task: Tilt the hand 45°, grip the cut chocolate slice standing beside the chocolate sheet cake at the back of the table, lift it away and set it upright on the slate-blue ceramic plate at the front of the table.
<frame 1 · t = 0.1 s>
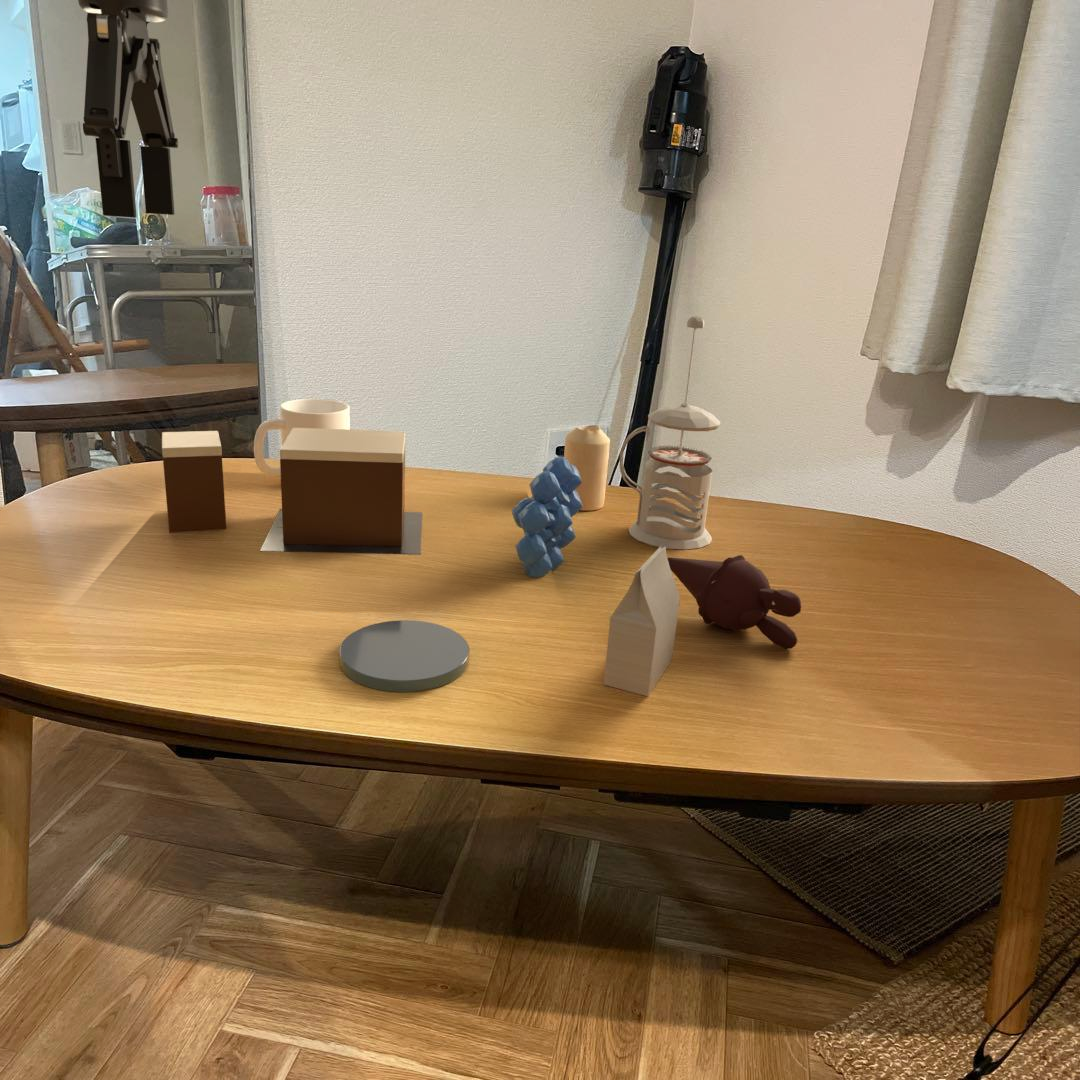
hand: (141, 215, 89), 32 cm above the table, tool pointing down, fingers open, 13 cm apart
grapes: (538, 572, 92), on the table
cake slice: (197, 529, 97), on the table
icecream: (723, 626, 83), on the table
french press: (662, 534, 105), on the table
beige milk carton: (638, 674, 73), on the table
plate: (405, 659, 73), on the table
cup: (303, 487, 113), on the table
candle: (582, 505, 114), on the table
cake board: (347, 538, 97), on the table
cake: (346, 530, 97), resting on cake board
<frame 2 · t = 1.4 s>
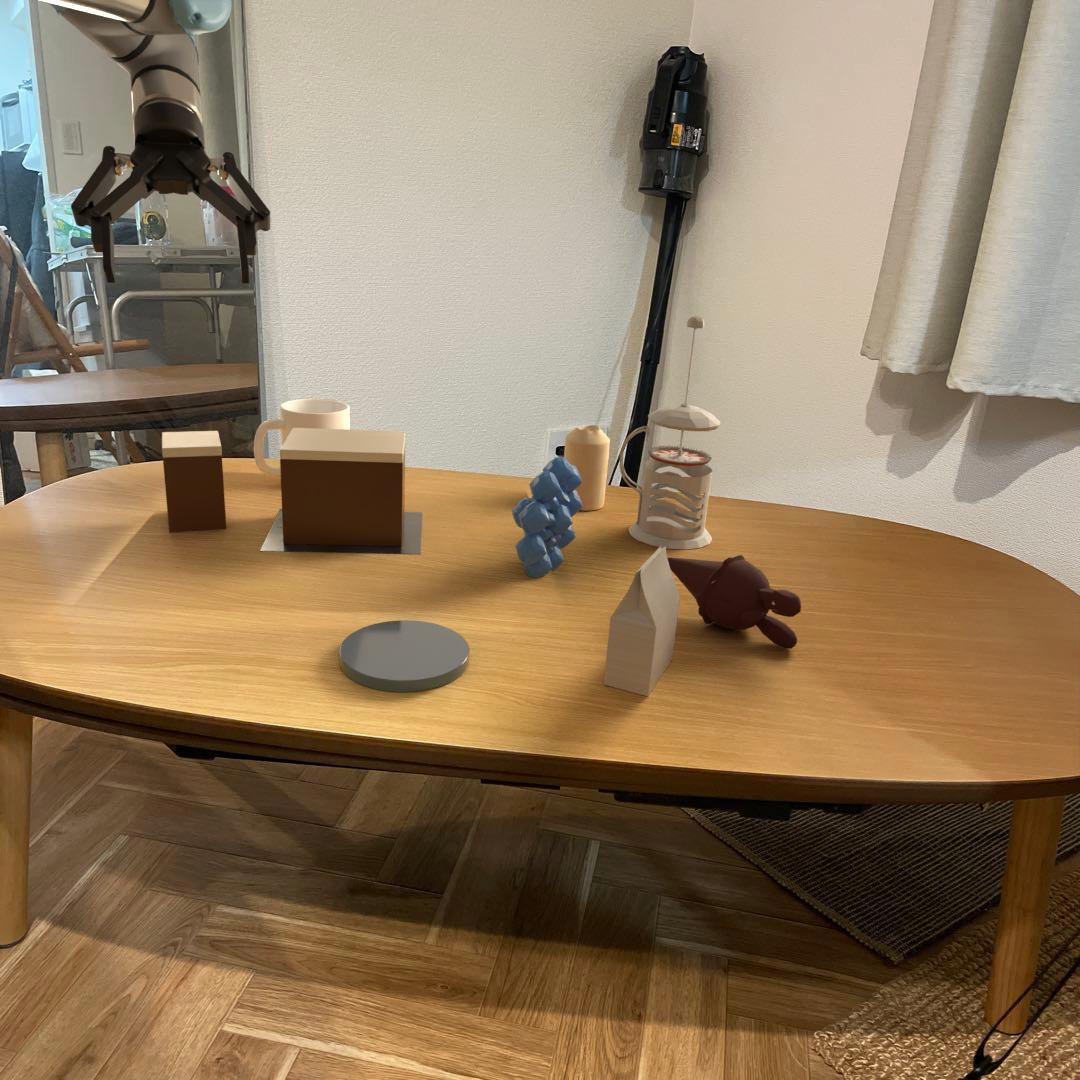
hand: (178, 275, 96), 26 cm above the table, tool tilted 45°, fingers open, 13 cm apart
nothing on the table moved.
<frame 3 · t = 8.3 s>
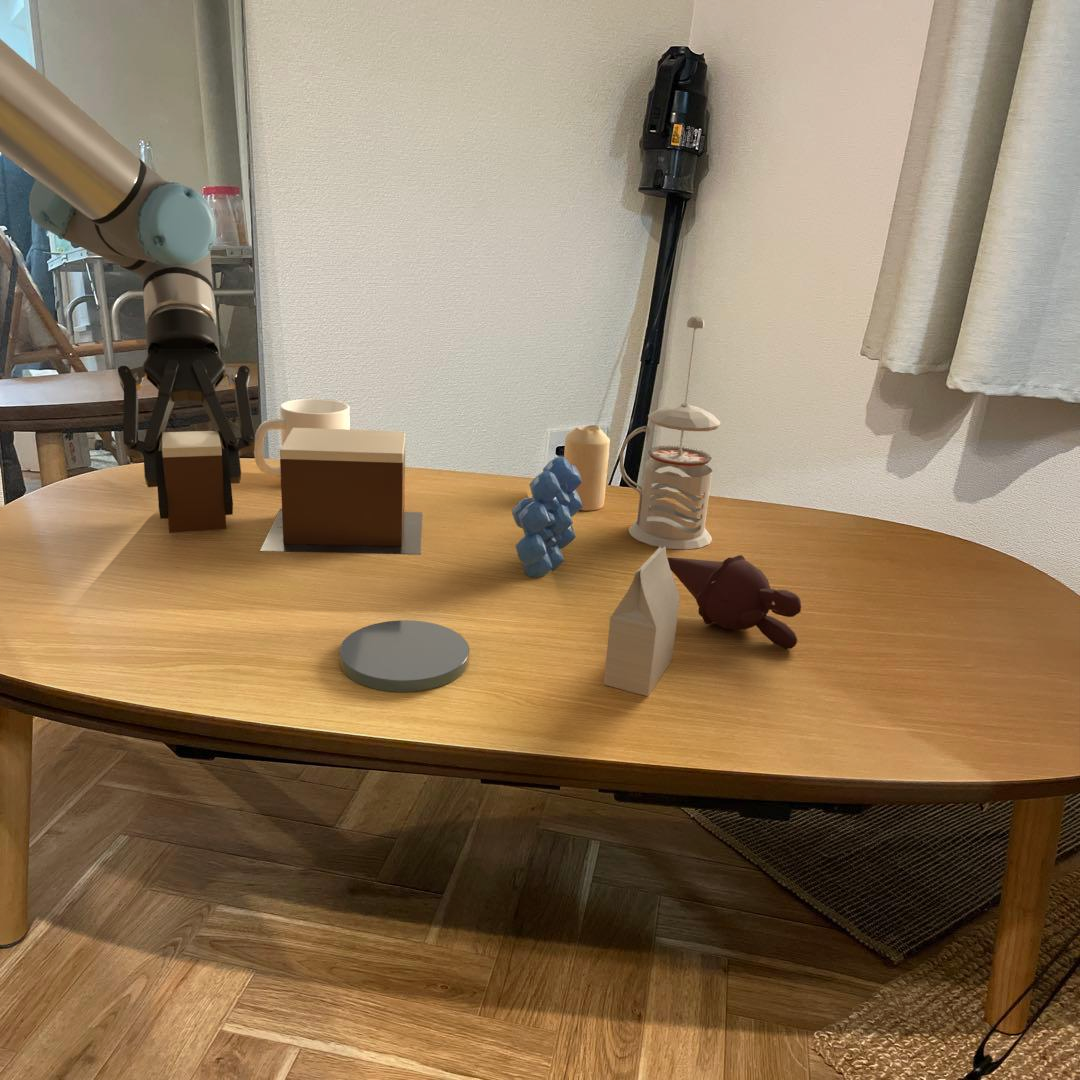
hand: (196, 510, 93), 3 cm above the table, tool tilted 45°, fingers closed on cake slice, 6 cm apart
cake slice: (197, 529, 97), on the table, touching gripper
everything else where it was.
when the fingers open (4 cm above the table, at t = 22.1 s): cake slice stays where it is, resting on plate.
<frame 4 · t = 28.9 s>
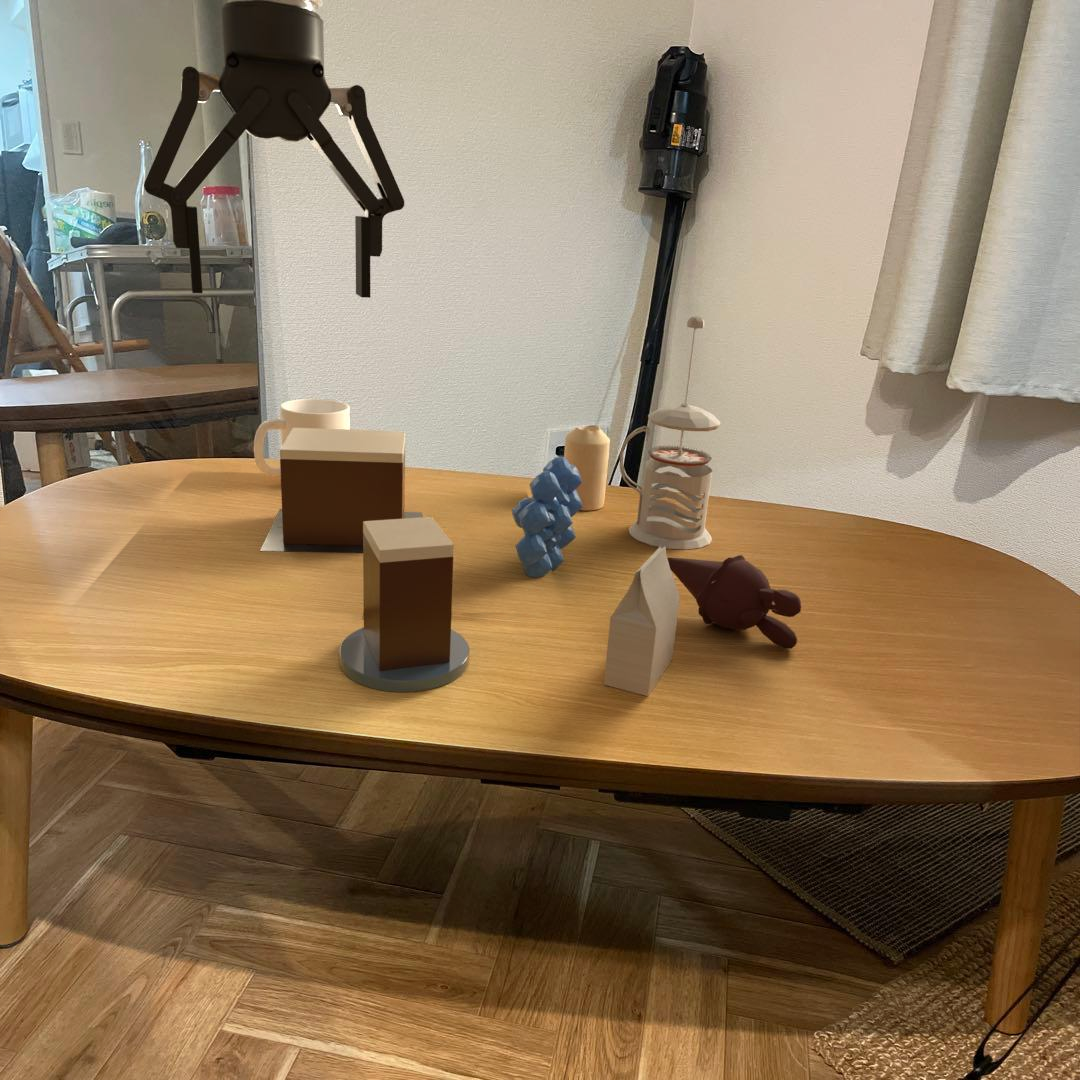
hand: (282, 294, 76), 27 cm above the table, tool pointing down, fingers open, 13 cm apart
cake slice: (405, 648, 73), point 1 cm above the table, touching plate
everything else where it was.
at the end: cake slice 0.0 cm off-centre on the plate, point 1.0 cm above the plate's base; cake slice tilted 0°; the gripper is holding nothing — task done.
